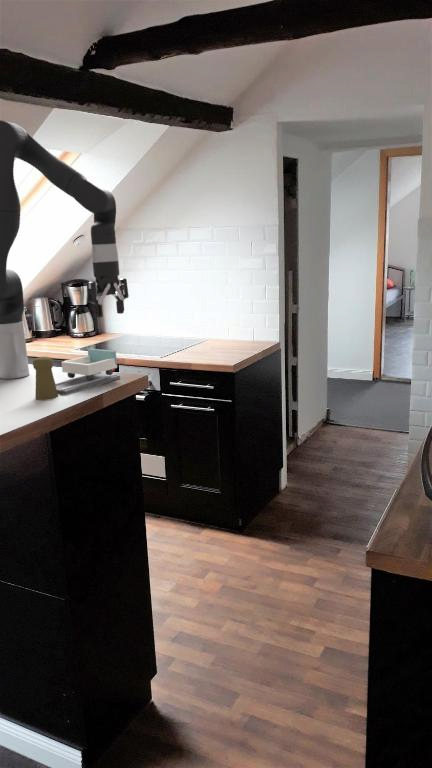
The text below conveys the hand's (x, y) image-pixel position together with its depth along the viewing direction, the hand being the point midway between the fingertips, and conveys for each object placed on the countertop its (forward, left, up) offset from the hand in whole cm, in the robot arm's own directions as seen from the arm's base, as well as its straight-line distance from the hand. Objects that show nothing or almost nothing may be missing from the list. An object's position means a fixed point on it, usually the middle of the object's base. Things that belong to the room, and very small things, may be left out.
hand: (110, 315), depth 180 cm
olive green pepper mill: (+1, -27, -19) cm, 33 cm away
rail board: (-1, -12, -19) cm, 23 cm away
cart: (-1, -9, -17) cm, 19 cm away
